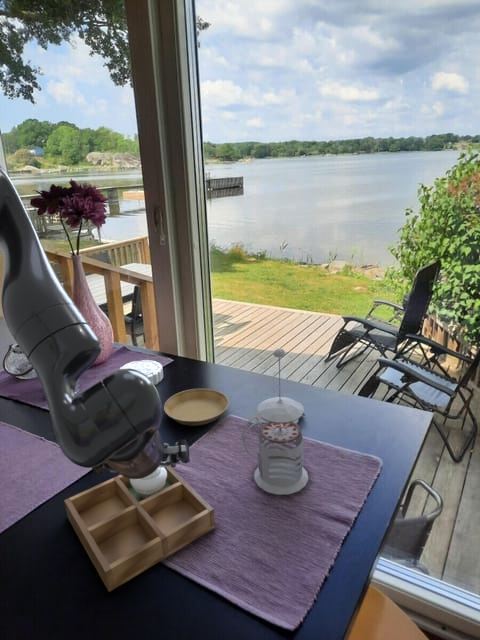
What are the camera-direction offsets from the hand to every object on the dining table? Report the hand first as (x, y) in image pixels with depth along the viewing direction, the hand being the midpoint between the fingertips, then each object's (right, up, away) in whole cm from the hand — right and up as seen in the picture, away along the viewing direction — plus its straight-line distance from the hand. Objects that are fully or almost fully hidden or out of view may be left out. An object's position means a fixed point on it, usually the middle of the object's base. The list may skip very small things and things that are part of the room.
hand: (147, 464), depth 74 cm
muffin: (0, -6, +2) cm, 6 cm away
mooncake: (-11, +8, +45) cm, 47 cm away
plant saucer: (+6, +2, +28) cm, 28 cm away
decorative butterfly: (+25, +2, +25) cm, 35 cm away
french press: (+22, -4, +6) cm, 23 cm away
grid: (-1, -8, -3) cm, 9 cm away
